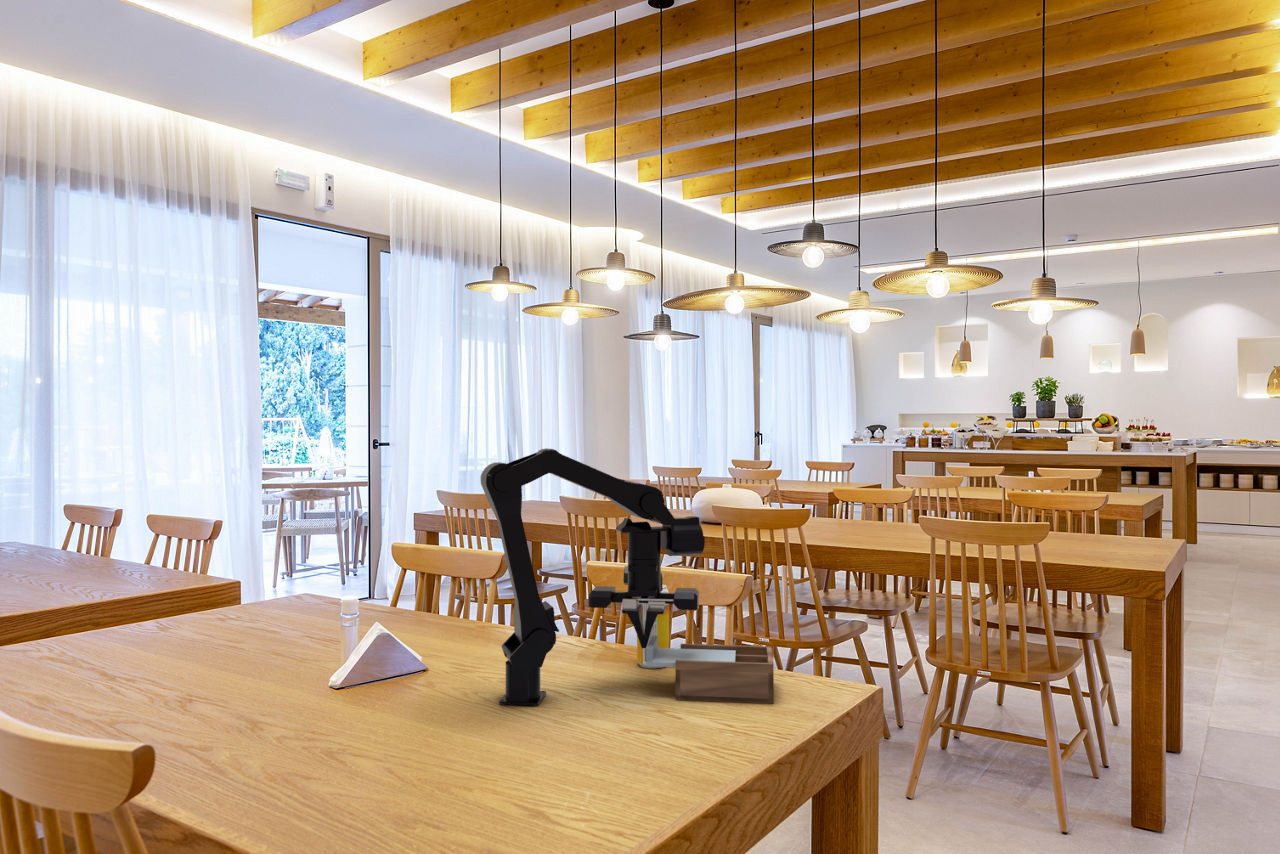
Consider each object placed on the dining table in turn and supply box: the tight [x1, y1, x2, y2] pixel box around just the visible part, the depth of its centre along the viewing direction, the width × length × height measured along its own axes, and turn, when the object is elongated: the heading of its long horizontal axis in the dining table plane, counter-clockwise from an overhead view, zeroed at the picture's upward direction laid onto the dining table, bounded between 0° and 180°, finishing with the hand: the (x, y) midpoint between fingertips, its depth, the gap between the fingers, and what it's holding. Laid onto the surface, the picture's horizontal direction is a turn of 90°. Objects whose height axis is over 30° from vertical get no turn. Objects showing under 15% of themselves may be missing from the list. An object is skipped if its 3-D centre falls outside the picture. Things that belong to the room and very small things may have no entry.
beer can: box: [636, 584, 670, 670], centre depth 161 cm, size 6×6×15 cm
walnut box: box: [674, 643, 775, 705], centre depth 144 cm, size 12×16×6 cm
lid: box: [646, 635, 736, 668], centre depth 145 cm, size 10×15×3 cm, turn 83°
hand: (644, 647), depth 146 cm, fingers closed
